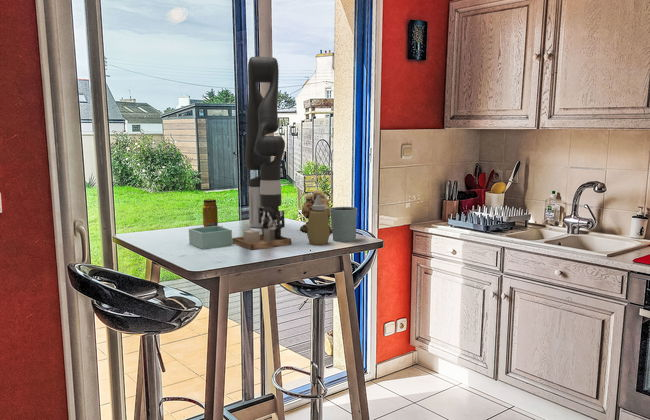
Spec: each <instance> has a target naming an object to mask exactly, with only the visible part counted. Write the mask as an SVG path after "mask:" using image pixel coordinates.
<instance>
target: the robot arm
mask: <svg viewBox="0 0 650 420" xmlns="http://www.w3.org/2000/svg"><path fill="white" fill-rule="evenodd" d="M279 74H280V73H279V62H278V59H277V58H276V57H271V56H251V57H250V58H249V60H248V64H247V83H248V84H247V85H248V86H247V87H248V92H247V93H248V95H247V96H248V97H247V112H246V143H245V151H244V166H245V168H246V169H247V170H248V171H260V174H259V175H257V176H255V177H253V178H250V179H249V180H248V203H249V205H248V206H249V208H248V209H249V215H248V216H249V217H248V218H249V227H250V228H259V229H260V228H261V231H262V232H261V234H262V235H263V236H264V229H266V228H271V227H272V226H273V228H275V229H274V238H275V239H276V240H278V239H281V236H282V228H285V210H279V207H280V206H282V183H281V164H282V160H283V156H284V154H285V153H284V152H285V148H286V141H285V139H284V138H283V137H282V136H281V135H270V134H274V133H276V132H277V131H278V129H279V116H278V98H279V96H278V95H279V78H280V77H279ZM257 83H268V84H269V88H268V90H267V92H266V93H265V95H264V96H263V95H262V94H261V92H260V89H259V87H258V84H257ZM272 157H273V158H274V159H273V160H272Z"/></svg>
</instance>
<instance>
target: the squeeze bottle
mask: <svg viewBox="0 0 650 420" xmlns="http://www.w3.org/2000/svg"><path fill="white" fill-rule="evenodd" d="M312 210H313V211H311V212H310V213H309V219H308V221H309V222H308V221H307V222H308V232H307V234H306V235H307V238H308V241H309V245H312V246H325V245H327V244H328V241H329V239H330V235H331V234H330V231H329V227H330V222H329V221H330V220H329V221H328V212H326V211H324V210H325V205H322V201H321V197H320V195H317V196H316V201H315V205H312Z"/></svg>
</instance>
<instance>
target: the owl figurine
mask: <svg viewBox="0 0 650 420" xmlns="http://www.w3.org/2000/svg"><path fill="white" fill-rule="evenodd" d="M317 195H320V197H321V201H322V205H325V210H324V211H326V212H328V221H330V217H331V212H330V204H329V202H330V201H329V199H328V198H327V196H326V195H325V193H324V192H323V191H321V190H320V189H315V190H313V191H312V193H308V194H306V195H305V196H304V199H305V201H304V202H303V205H302V209H301V214H302V215H303V217H304V218H305V219H307V220H308V221H307V222H305V224H303V225H302V226H300V228H299V231H300V232H301V233H303V234H306V233H307V232H308V222H309V213H310V212H311V211H313V210H312V205H315V201H316V196H317ZM329 231H330V235H332V232H333V231H332V227H330V226H329Z"/></svg>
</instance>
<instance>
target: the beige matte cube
mask: <svg viewBox="0 0 650 420" xmlns="http://www.w3.org/2000/svg"><path fill="white" fill-rule="evenodd" d="M260 233H261V231H259V230H255V229H249V230H243V236H242V237H244V241H245V242H248V243H251V244H254V243H260Z"/></svg>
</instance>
